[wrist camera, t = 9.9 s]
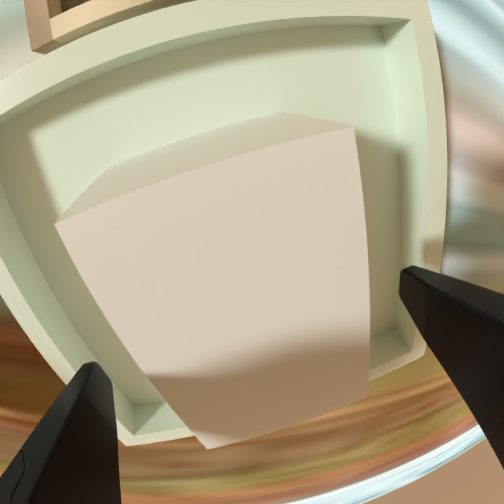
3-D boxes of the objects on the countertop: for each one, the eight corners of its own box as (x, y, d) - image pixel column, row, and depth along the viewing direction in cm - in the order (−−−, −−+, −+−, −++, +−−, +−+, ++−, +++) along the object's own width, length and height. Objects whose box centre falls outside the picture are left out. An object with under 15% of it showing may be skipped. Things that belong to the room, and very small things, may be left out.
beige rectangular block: (280, 111, 10) (353, 126, 6) (319, 314, 14) (367, 396, 10) (107, 167, 10) (53, 224, 5) (195, 355, 14) (207, 449, 10)
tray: (387, 6, 9) (426, -3, 7) (401, 328, 17) (423, 355, 15) (-29, 122, 8) (-67, 132, 6) (128, 411, 16) (126, 446, 14)
